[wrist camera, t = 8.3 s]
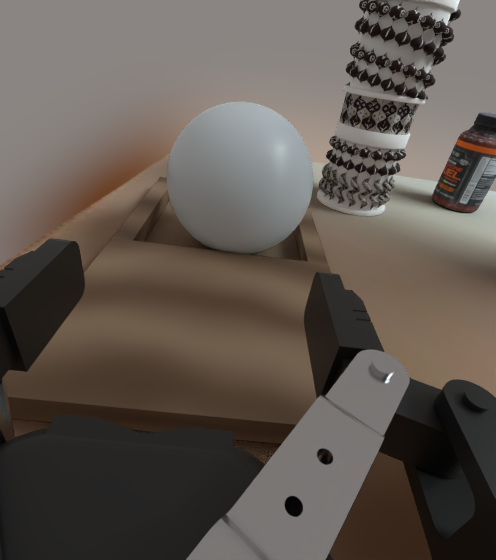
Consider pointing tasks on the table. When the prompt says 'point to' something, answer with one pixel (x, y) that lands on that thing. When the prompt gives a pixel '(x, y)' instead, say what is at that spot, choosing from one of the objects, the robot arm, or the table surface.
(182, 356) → the wooden tray
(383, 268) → the table surface
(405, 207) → the table surface
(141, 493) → the robot arm
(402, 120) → the decorative candle
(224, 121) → the ball
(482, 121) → the supplement bottle
